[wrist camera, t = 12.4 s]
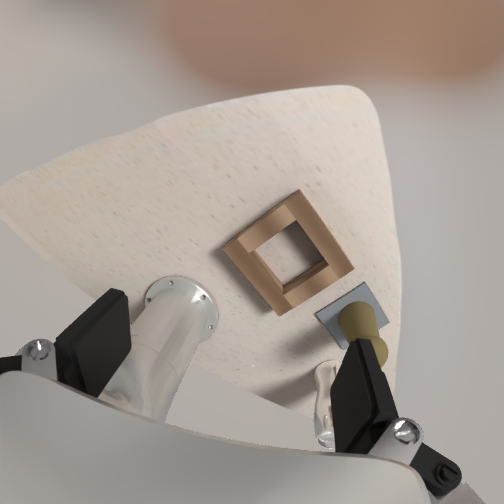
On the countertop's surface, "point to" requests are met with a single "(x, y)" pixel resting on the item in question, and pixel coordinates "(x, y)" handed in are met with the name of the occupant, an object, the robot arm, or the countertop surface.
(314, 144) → the countertop surface
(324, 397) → the beer glass
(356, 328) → the olive rounded peg
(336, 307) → the rubber mat
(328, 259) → the wooden square frame
